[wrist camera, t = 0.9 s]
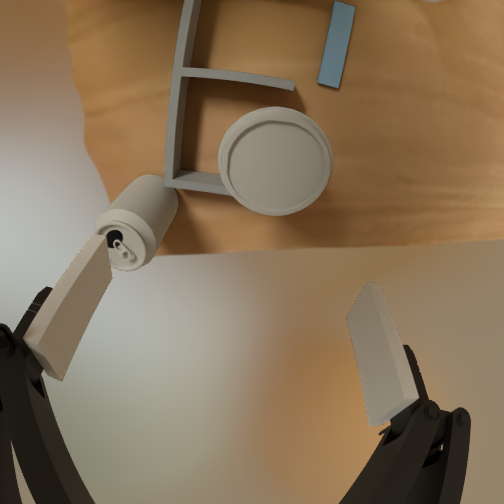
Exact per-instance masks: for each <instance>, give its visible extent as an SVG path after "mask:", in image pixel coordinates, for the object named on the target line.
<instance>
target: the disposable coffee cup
mask: <svg viewBox="0 0 504 504" xmlns="http://www.w3.org/2000/svg"><path fill="white" fill-rule="evenodd" d="M332 165H333V157H332V149H331V146H330V143H329V140H328V138H327V136H326V135H325V133H324V131H323V130H322V129H321V128H320V126H319V125H318V124H317V123H316V122H315V121H313V120H312V119H311V118H310V117H308V116H307V115H305V114H303V113H301V112H299V111H296V110H293V109H290V108H284V107H266V108H261V109H257V110H254V111H252V112H249V113H248V114H246V115H244V116H242V117H241V118H239V119H238V120H237V121H236V122H235V123H234V124H233V125H232V126H231V127H230V128H229V129H228V131H227V132H226V134H225V135H224V137H223V140H222V142H221V144H220V148H219V152H218V168H219V173H220V176H221V179H222V182H223V184H224V185H225V187H226V188H227V190H228V192H229V193H230V194H231V195H232V196H233V197H234V198H235V199H236V200H237V201H238V202H239V203H240V204H242V205H244V206H245V207H247V208H248V209H250V210H251V211H254V212H258V213H261V214H264V215H272V216H281V215H288V214H291V213H295V212H297V211H300V210H302V209H304V208H306V207H307V206H309V205H310V204H312V203H313V202H314V201H315V200H316V199H317V198H318V197H319V196H320V194H321V193H322V191H323V190H324V188H325V187H326V185H327V183H328V181H329V178H330V175H331V172H332Z"/></svg>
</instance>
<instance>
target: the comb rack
mask: <svg viewBox="0 0 504 504" xmlns="http://www.w3.org/2000/svg"><path fill="white" fill-rule="evenodd" d="M201 4H202V0H184V5H183V10H182V15H181V20H180V26H179V31H178V37H177V43H176V50H175V57H174V64H173V71H172V80H171V88H170V98H169V108H168V119H167V133H166V148H165V170H164V187H172V188H180V189H188V190H195V191H203V192H210V193H217V194H224V195H231V194H230V193H229V192H228V190H227V188H226V187H225V185H224V184H223V182H222V179H221V176H220V174H212V173H205V172H197V171H189V170H180V163H181V149H182V137H183V126H184V116H185V107H186V98H187V90H188V82H189V77H202V78H214V79H224V80H232V81H240V82H247V83H254V84H261V85H266V86H272V87H278V88H283V89H288V90H292V91H294V87H295V82H294V81H290V80H285V79H280V78H274V77H269V76H263V75H257V74H250V73H243V72H235V71H226V70H216V69H204V68H190V67H191V60H192V54H193V47H194V41H195V36H196V30H197V24H198V19H199V14H200V9H201ZM231 196H232V195H231Z"/></svg>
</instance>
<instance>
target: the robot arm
mask: <svg viewBox="0 0 504 504" xmlns="http://www.w3.org/2000/svg"><path fill="white" fill-rule="evenodd" d="M111 280H112V273H111V266H110V259H109V252H108V245H107V237H106V236H102V235H97V234H93V235H92V237H91V238H90V239H89V240H88V241H87V243H86V244H85V245H84V247H83V248H82V249H81V250H80V252H79V253H78V254H77V256H76V257H75V259H74V260H73V261H72V263H71V264H70V266H69V267H68V268H67V269H66V271H65V272H64V274H63V275H62V276H61V278H60V279H59V281H58V282H57V284H56V286H55V287H54V288H51V287H45V288H44V289H43V290H42V291H40V292H39V293H38V294H37V296H36V297H35V299H34V300H33V303H32V304H31V305H30V306H29V308H28V311H26V313H25V314H24V316H23V317H22V319H21V321H20V322H19V324H18V326H17V327H16V329H15V331H14V332H13V333H12V332H11V330H10V328H9V327H8V326H7V325H5V324H2V323H1V324H0V504H22V501H21V498H20V493H19V488H18V484H17V479H16V474H15V468H14V462H13V455H12V447H11V441H12V445H13V448H14V451H15V454H16V457H17V459H18V463H19V465H20V468H21V470H22V473H23V476H24V478H25V481H26V483H27V485H28V488H29V490H30V492H31V495H32V497H33V499H34V501H35V503H36V504H95V502H94V501H93V499H92V497H91V496H90V494H89V492H88V490H87V488H86V487H85V485H84V483H83V481H82V480H81V477H80V475H79V473H78V471H77V469H76V467H75V465H74V463H73V461H72V459H71V457H70V454H69V452H68V450H67V448H66V445H65V443H64V440H63V438H62V435H61V433H60V430H59V428H58V425H57V422H56V419H55V416H54V413H53V410H52V408H51V404H50V401H49V398H48V395H47V391H46V388H45V385H44V381H43V378H42V376H41V373H42V371H43V369H44V370H45V372H46V373H47V375H48V376H50V377H52V378H55V379H57V380H59V381H63V378H64V376H65V374H66V371H67V369H68V367H69V364H70V362H71V360H72V358H73V355H74V353H75V351H76V349H77V346H78V344H79V342H80V340H81V338H82V336H83V334H84V331H85V330H86V328H87V325H88V323H89V321H90V319H91V317H92V315H93V313H94V312H95V310H96V308H97V306H98V304H99V302H100V300H101V298H102V296H103V294H104V293H105V291H106V289H107V287H108V285H109V283H110V282H111ZM346 319H347V323H348V327H349V331H350V335H351V340H352V344H353V348H354V352H355V357H356V362H357V366H358V371H359V376H360V381H361V386H362V391H363V396H364V402H365V408H366V413H367V419H368V425H369V426H376V425H383V424H384V423H386V422H387V421H389V420H390V422H391V425H390V426H388V427H387V428H385V429H384V430H382V431H381V432H380V433H379V435H381V434H383V433H385V434H384V435H383V437H382V439H381V441H380V443H379V444H378V446H377V448H376V450H375V451H374V453H373V454H372V456H371V458H370V459H369V461H368V463H367V464H366V466H365V467H364V469H363V470H362V472H361V473H360V475H359V476H358V478H357V479H356V481H355V482H354V483H353V485H352V486H351V488H350V489H349V490H348V492H347V493H346V495H345V496H344V497H343V499H342V500H341V501H340V503H339V504H460V501H461V496H462V491H463V486H464V481H465V475H466V468H467V461H468V453H469V442H470V428H471V419H470V415H469V413H468V412H467V411H466V409H464V408H461V407H459V408H457V409H455V410H454V411H453V412H448V411H444V410H440V408H439V406H438V405H437V404H436V403H435V402H434V401H432V400H429V398H428V395H427V392H426V389H425V385H424V382H423V379H422V376H421V373H420V372H419V367H418V365H417V361H416V358H415V355H414V353H413V351H412V350H411V349H410V347H409V346H408V345H402V342H401V339H400V336H399V333H398V331H397V328H396V325H395V322H394V320H393V317H392V314H391V312H390V310H389V307H388V304H387V302H386V299H385V297H384V294H383V292H382V289H381V287H380V285H379V284H377V283H370V282H367V283H366V285H365V286H364V288H363V290H362V292H361V294H360V295H359V297H358V299H357V300H356V302H355V304H354V305H353V307H352V309H351V310H350V312H349V313H348V315H347V317H346ZM441 445H443V449H442V450H441Z"/></svg>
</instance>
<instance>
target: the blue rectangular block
mask: <svg viewBox="0 0 504 504" xmlns="http://www.w3.org/2000/svg"><path fill="white" fill-rule="evenodd" d="M354 12H355V7H354V6H351V5H348V4H345V3H342V2H338V1H334V4H333V9H332V14H331V19H330V24H329V29H328V34H327V39H326V44H325V49H324V53H323V58H322V63H321V67H320V72H319V76H318V81H317V83H321V84H324V85H328V86H332V87H335V88H338V87H339V83H340V79H341V74H342V70H343V65H344V61H345V56H346V52H347V47H348V42H349V37H350V32H351V27H352V22H353V17H354Z"/></svg>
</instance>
